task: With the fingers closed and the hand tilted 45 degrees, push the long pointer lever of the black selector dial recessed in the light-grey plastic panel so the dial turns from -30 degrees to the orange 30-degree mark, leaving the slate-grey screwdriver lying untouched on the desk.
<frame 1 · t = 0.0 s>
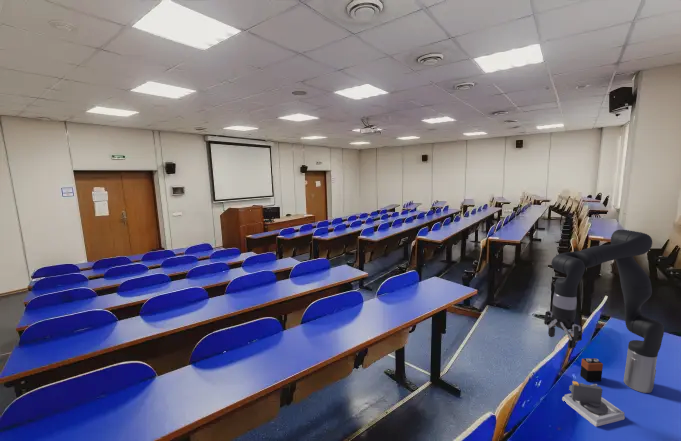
hand: (560, 341, 121), 29 cm above the table, tool pointing down, fingers open, 8 cm apart
panel: (591, 409, 123), on the table
dial: (589, 395, 122), point 6 cm above the table, hinge at -30.0°
screwdriver: (581, 390, 133), on the table
battery: (590, 378, 140), on the table
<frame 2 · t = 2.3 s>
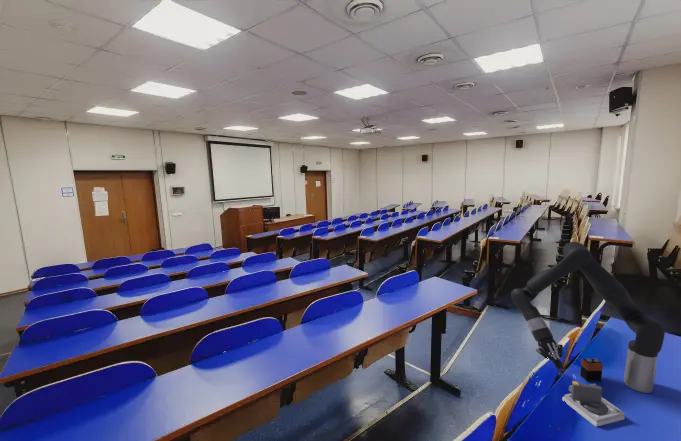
hand: (560, 369, 130), 12 cm above the table, tool tilted 45°, fingers closed
nothing on the table moved.
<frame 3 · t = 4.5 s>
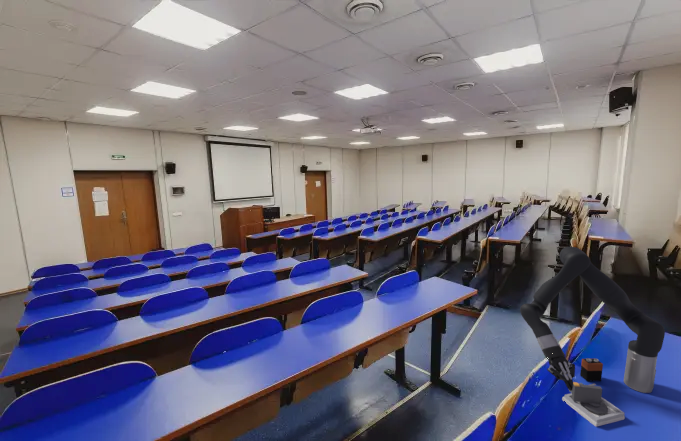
hand: (573, 390, 124), 7 cm above the table, tool tilted 45°, fingers closed
dial: (590, 395, 122), point 6 cm above the table, hinge at -25.3°, touching gripper
everything else where it was.
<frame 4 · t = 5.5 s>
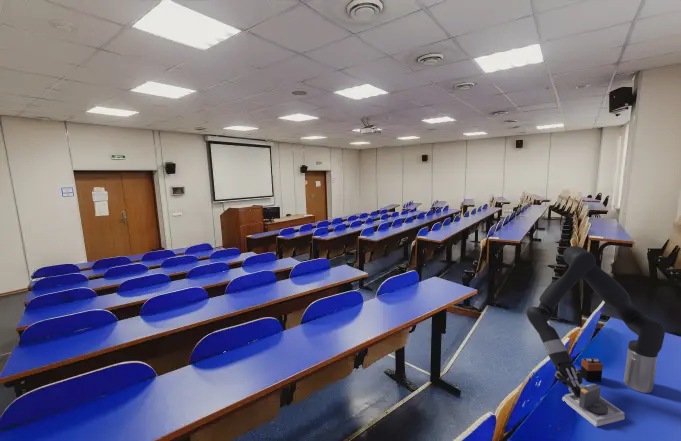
hand: (580, 397, 121), 7 cm above the table, tool tilted 45°, fingers closed
dial: (591, 397, 121), point 6 cm above the table, hinge at 7.6°, touching gripper
everything else where it was.
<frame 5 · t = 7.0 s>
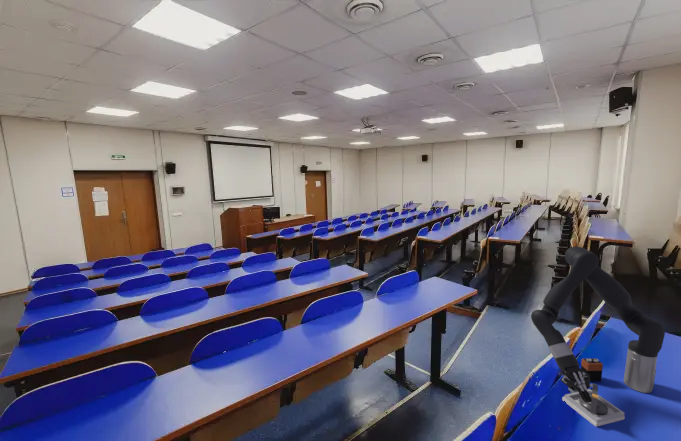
hand: (588, 402, 118), 7 cm above the table, tool tilted 45°, fingers closed
dial: (594, 398, 120), point 6 cm above the table, hinge at 36.9°, touching gripper
everything else where it was.
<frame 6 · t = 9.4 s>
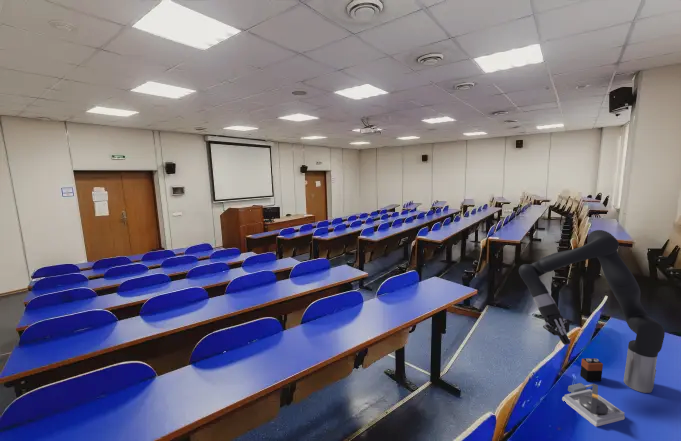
hand: (567, 344, 130), 23 cm above the table, tool tilted 40°, fingers closed
dial: (594, 398, 120), point 6 cm above the table, hinge at 37.0°
everything else where it was.
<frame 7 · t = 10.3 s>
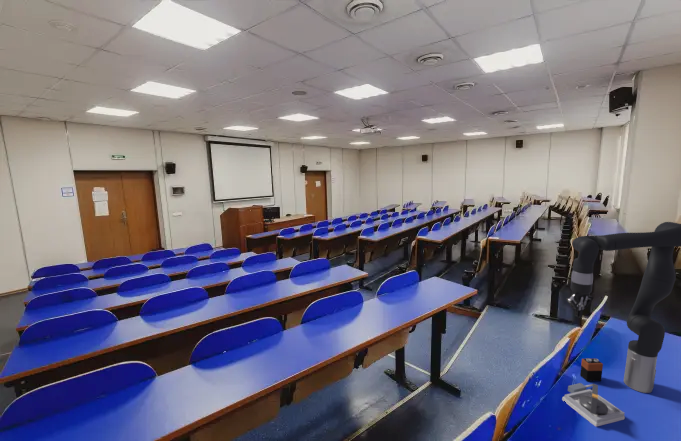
hand: (578, 316, 137), 31 cm above the table, tool pointing down, fingers closed
nothing on the table moved.
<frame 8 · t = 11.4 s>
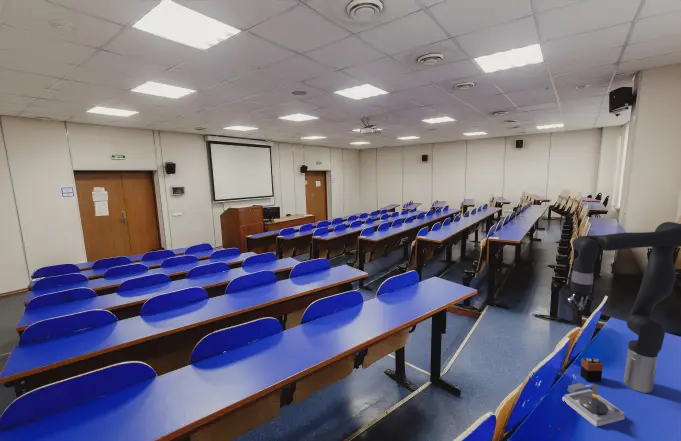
hand: (578, 316, 137), 31 cm above the table, tool pointing down, fingers closed
nothing on the table moved.
at the end: dial at +37° (first picture: -30°) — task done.
